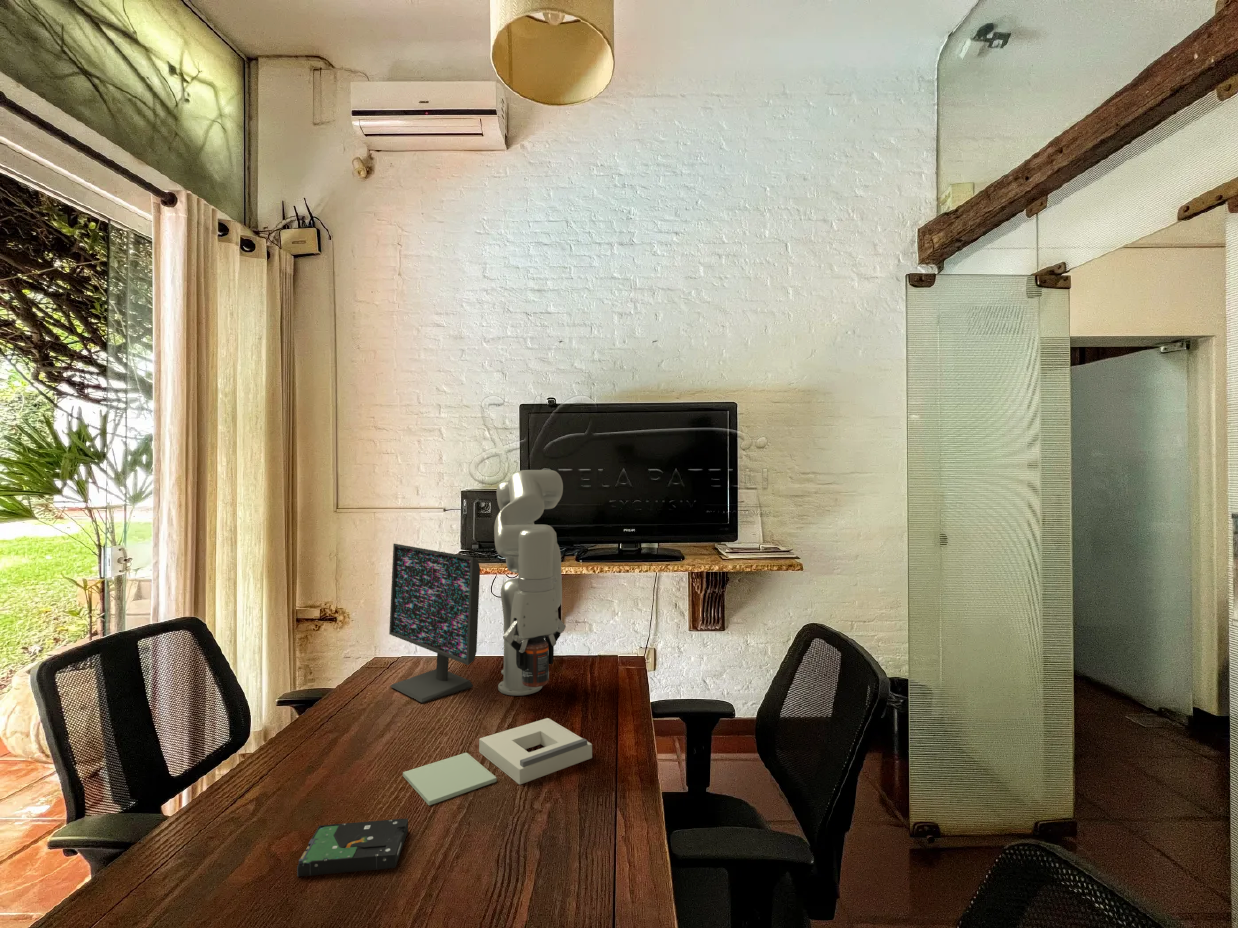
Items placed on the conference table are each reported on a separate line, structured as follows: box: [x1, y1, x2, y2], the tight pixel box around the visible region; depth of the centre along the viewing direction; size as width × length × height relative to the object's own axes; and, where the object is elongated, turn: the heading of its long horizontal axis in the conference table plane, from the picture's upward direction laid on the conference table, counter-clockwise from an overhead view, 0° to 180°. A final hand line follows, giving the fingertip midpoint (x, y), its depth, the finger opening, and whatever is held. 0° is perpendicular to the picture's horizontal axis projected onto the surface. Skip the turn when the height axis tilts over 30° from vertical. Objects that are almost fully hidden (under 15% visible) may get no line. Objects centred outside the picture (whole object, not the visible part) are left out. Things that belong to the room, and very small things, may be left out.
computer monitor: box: [388, 543, 481, 704], centre depth 175 cm, size 44×16×40 cm, turn 47°
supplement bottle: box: [522, 636, 550, 687], centre depth 134 cm, size 6×6×11 cm
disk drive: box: [296, 818, 409, 877], centre depth 100 cm, size 10×3×15 cm
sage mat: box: [402, 752, 498, 806], centre depth 123 cm, size 14×14×1 cm
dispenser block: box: [478, 717, 593, 785], centre depth 134 cm, size 18×18×4 cm
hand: (535, 664), depth 134 cm, fingers closed on supplement bottle, 6 cm apart
